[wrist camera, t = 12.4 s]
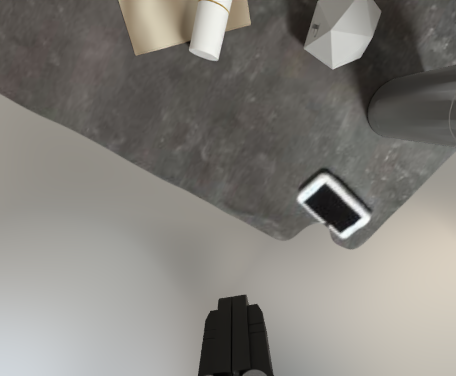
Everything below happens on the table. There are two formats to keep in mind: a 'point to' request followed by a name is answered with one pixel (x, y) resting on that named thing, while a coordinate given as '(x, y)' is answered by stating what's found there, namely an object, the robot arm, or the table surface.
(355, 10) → the die
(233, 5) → the birch board
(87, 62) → the table surface
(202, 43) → the tube
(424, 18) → the table surface
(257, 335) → the robot arm
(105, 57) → the table surface
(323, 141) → the table surface
